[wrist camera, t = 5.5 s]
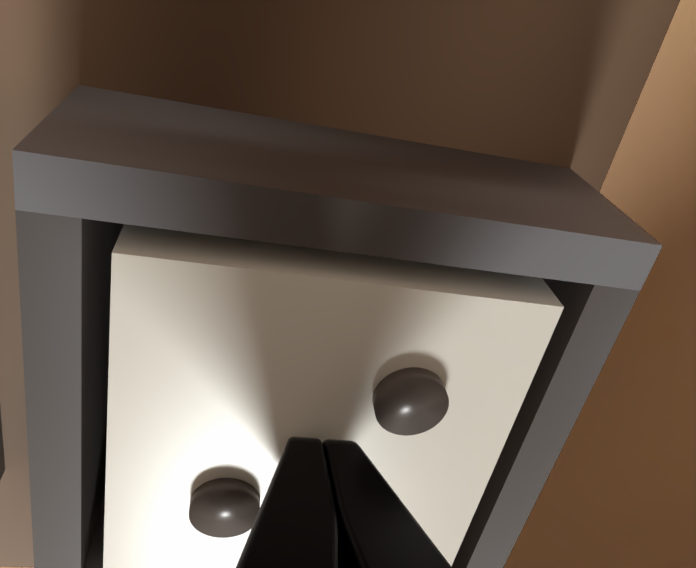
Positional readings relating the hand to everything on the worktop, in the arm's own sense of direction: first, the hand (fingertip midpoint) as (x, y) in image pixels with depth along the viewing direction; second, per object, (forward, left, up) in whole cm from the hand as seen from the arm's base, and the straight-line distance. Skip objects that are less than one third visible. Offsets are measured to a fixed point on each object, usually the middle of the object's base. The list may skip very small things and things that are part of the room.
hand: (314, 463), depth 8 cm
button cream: (0, 0, -2) cm, 2 cm away
